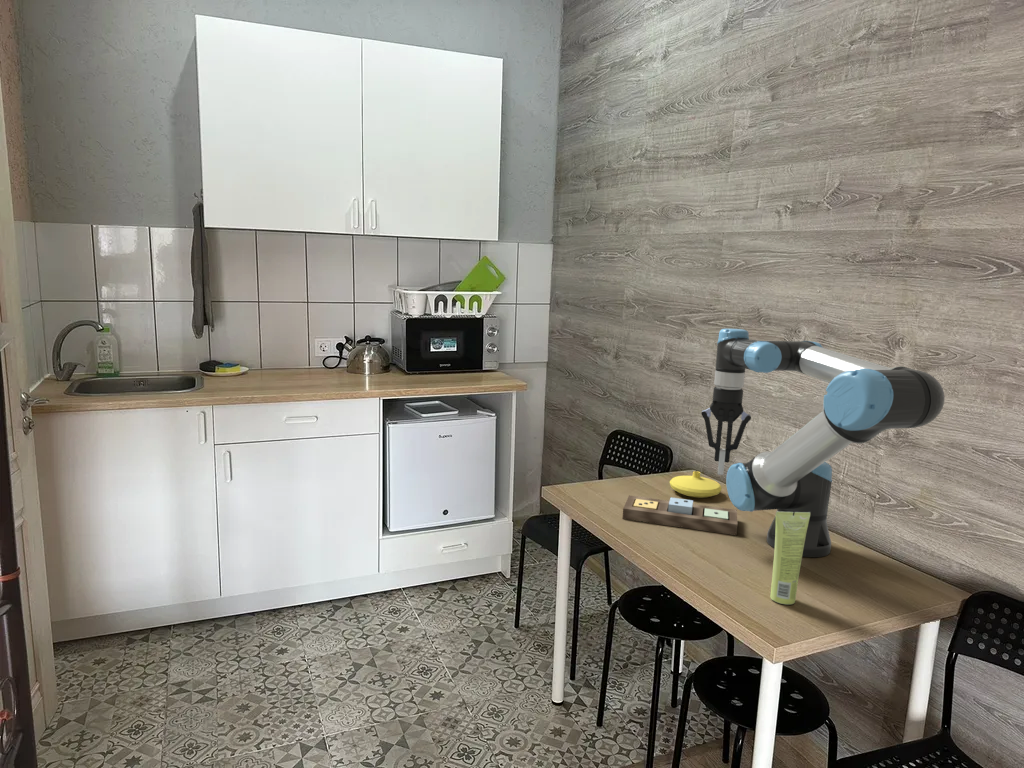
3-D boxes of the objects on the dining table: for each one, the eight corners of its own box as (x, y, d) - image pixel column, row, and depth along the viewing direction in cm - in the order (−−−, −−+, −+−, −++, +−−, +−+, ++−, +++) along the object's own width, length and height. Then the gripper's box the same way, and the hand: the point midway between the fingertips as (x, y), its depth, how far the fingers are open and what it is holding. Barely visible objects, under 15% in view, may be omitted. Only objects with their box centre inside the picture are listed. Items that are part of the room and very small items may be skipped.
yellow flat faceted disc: (702, 505, 203) (705, 483, 202) (658, 491, 215) (660, 470, 214) (730, 495, 214) (732, 474, 213) (687, 483, 225) (689, 462, 224)
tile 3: (657, 511, 195) (658, 501, 195) (655, 519, 189) (656, 507, 189) (635, 508, 197) (636, 498, 197) (632, 515, 191) (633, 504, 191)
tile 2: (692, 510, 192) (693, 499, 192) (691, 517, 186) (692, 506, 186) (669, 507, 194) (670, 496, 194) (667, 514, 188) (668, 503, 188)
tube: (776, 591, 149) (786, 505, 146) (800, 599, 146) (810, 511, 142) (765, 599, 145) (775, 511, 142) (789, 608, 141) (800, 518, 138)
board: (735, 520, 192) (736, 510, 192) (736, 535, 181) (737, 524, 180) (628, 505, 201) (629, 495, 200) (622, 518, 189) (623, 508, 189)
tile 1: (726, 521, 190) (728, 510, 189) (726, 529, 184) (728, 518, 184) (703, 518, 192) (704, 507, 191) (703, 526, 186) (704, 514, 185)
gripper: (754, 387, 183) (745, 472, 187) (703, 383, 187) (696, 466, 191) (755, 391, 176) (746, 480, 180) (702, 387, 180) (695, 473, 184)
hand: (720, 473), depth 185 cm, fingers closed
